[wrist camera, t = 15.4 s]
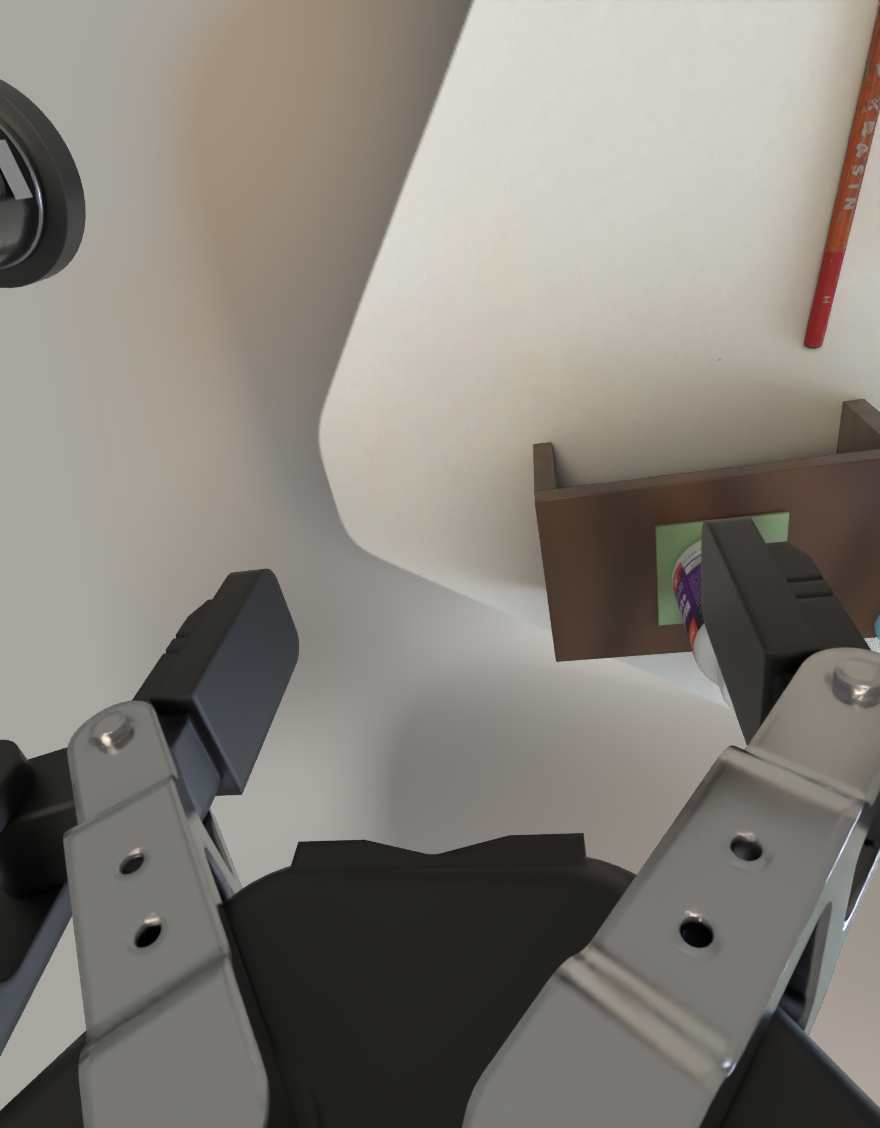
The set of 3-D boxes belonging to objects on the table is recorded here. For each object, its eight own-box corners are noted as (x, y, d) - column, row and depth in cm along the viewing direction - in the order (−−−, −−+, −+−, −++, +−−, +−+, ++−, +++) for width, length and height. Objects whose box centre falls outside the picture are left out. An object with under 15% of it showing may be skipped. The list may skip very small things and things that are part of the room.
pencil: (819, 345, 40) (825, 350, 39) (799, 345, 40) (805, 350, 39) (925, -99, 30) (936, -105, 29) (898, -97, 30) (909, -103, 29)
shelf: (552, 591, 52) (556, 664, 45) (532, 443, 45) (534, 502, 39) (841, 563, 48) (894, 638, 41) (864, 398, 42) (931, 454, 35)
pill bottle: (652, 563, 40) (685, 677, 32) (740, 514, 38) (799, 623, 30) (699, 623, 42) (741, 745, 34) (785, 580, 40) (852, 699, 31)
